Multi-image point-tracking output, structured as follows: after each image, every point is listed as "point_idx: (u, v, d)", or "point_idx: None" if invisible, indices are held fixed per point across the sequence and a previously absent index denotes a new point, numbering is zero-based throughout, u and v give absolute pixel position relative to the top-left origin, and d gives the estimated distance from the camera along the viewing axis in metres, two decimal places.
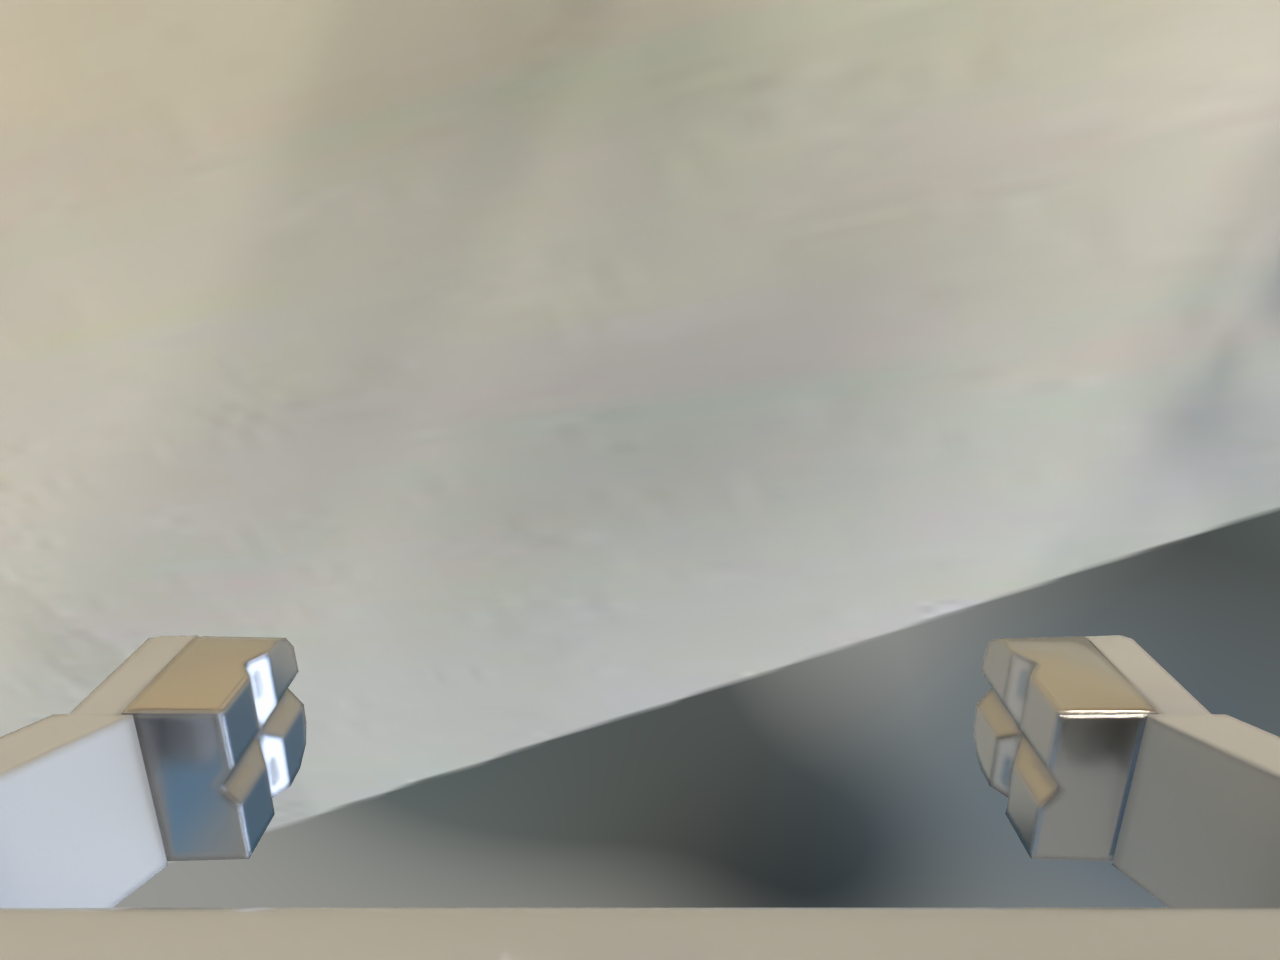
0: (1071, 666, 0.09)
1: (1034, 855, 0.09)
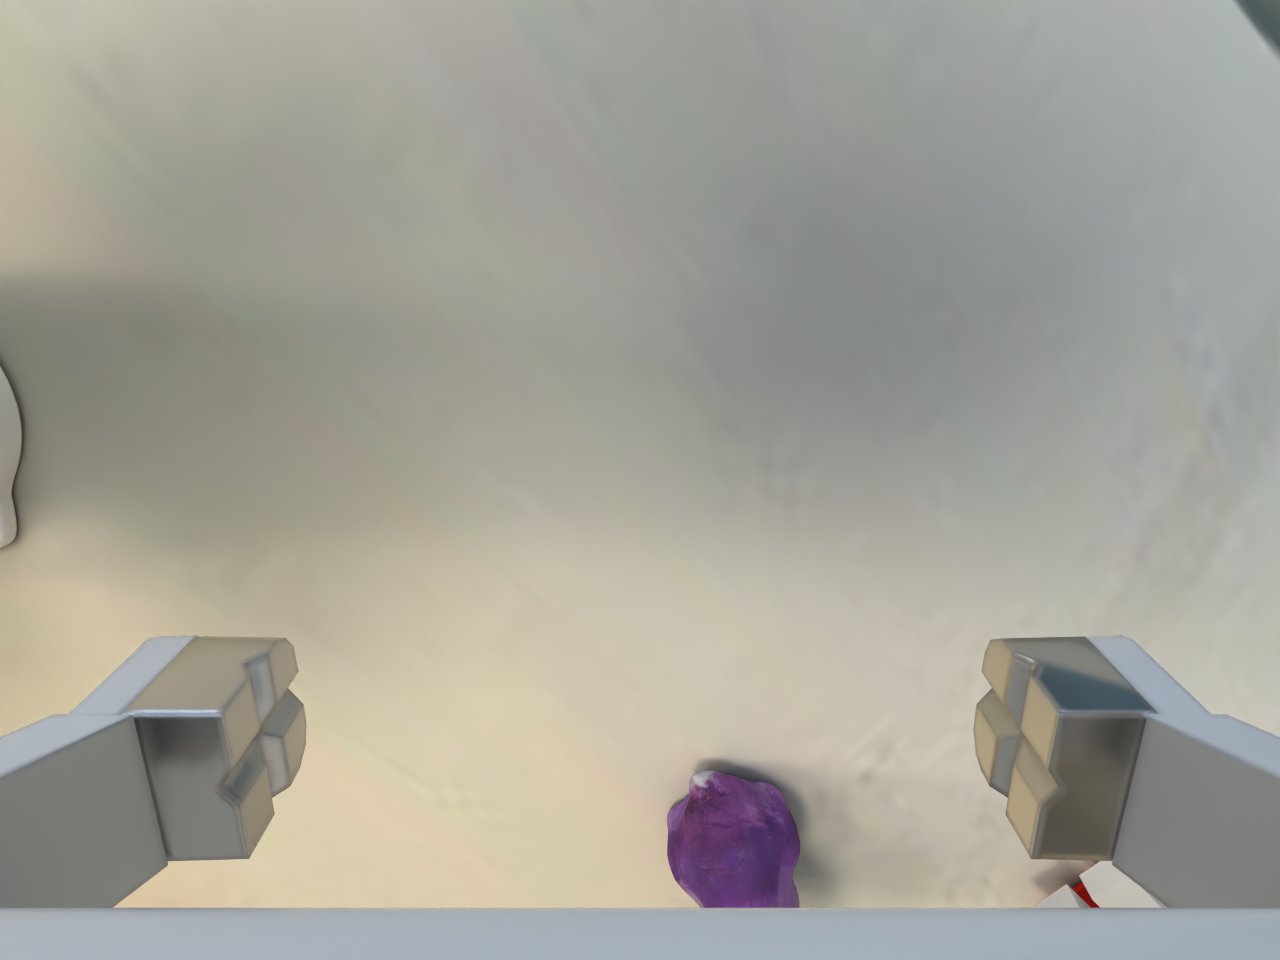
0: (1071, 666, 0.09)
1: (1035, 855, 0.09)
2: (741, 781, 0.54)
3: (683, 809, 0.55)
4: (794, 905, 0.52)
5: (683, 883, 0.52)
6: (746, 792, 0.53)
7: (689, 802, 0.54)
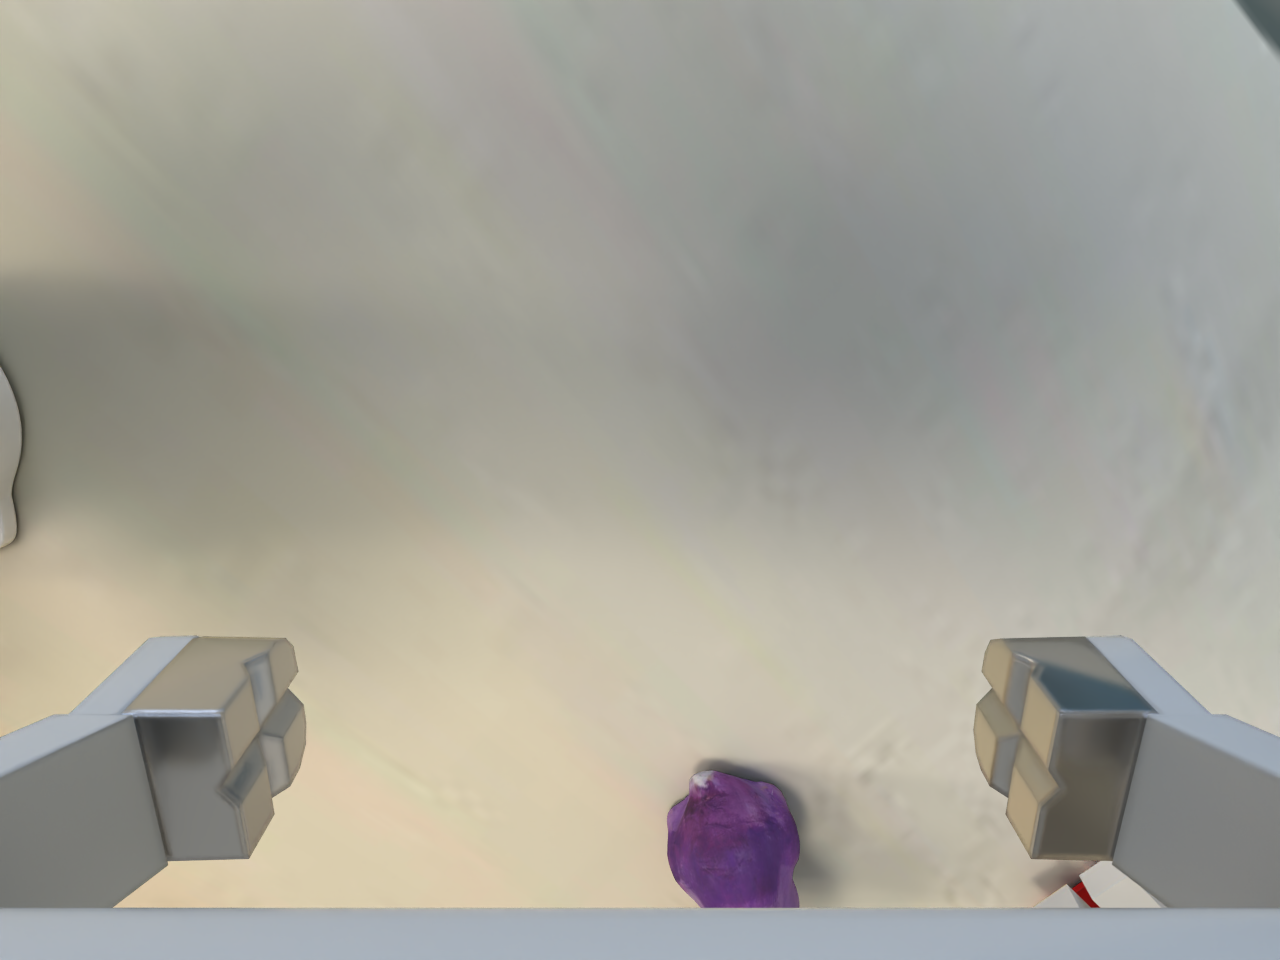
0: (1071, 666, 0.09)
1: (1035, 855, 0.09)
2: (741, 781, 0.54)
3: (683, 809, 0.55)
4: (794, 905, 0.52)
5: (683, 883, 0.52)
6: (746, 792, 0.53)
7: (689, 801, 0.54)
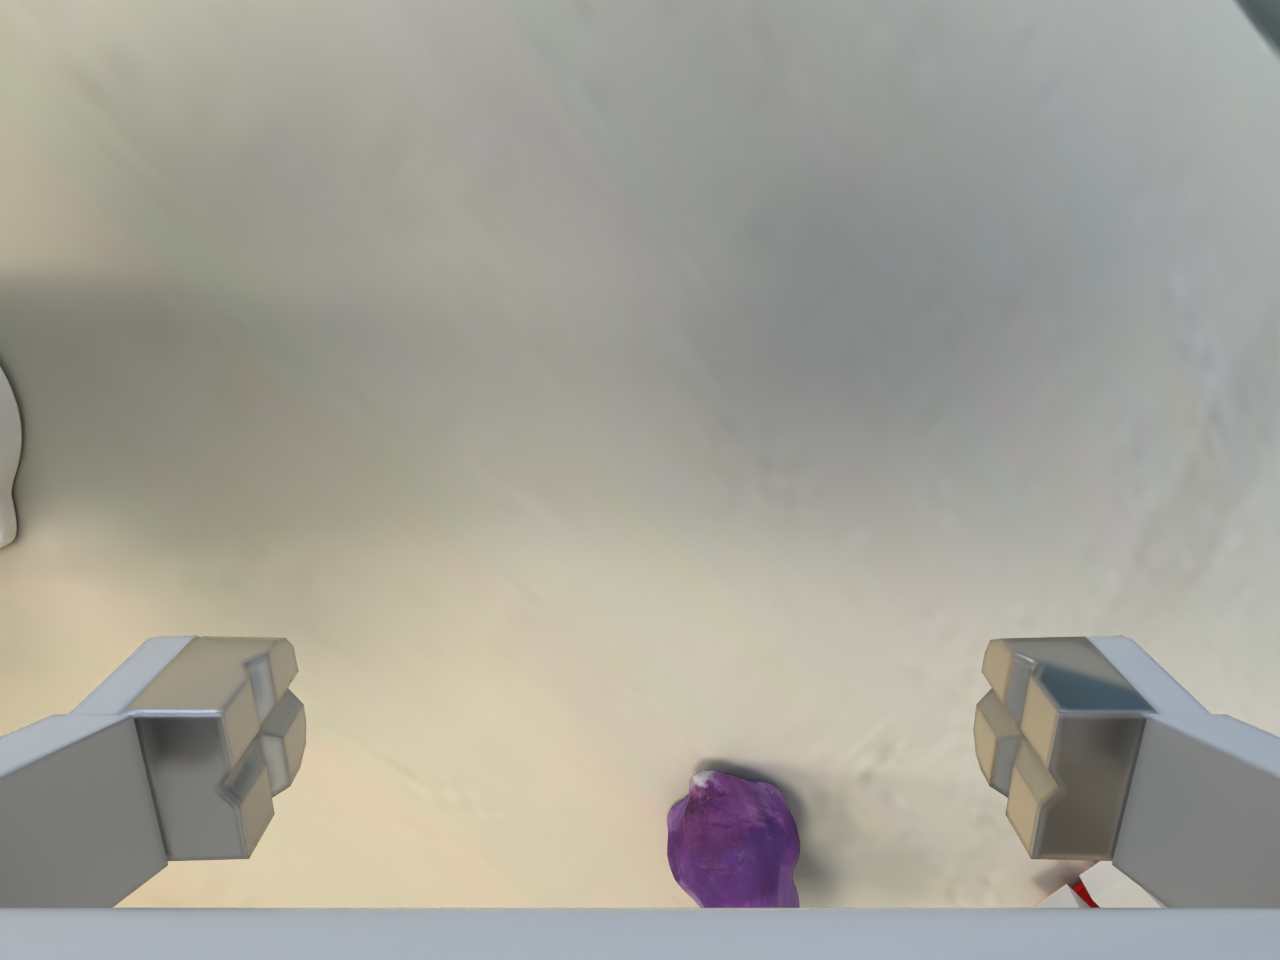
0: (1071, 666, 0.09)
1: (1034, 855, 0.09)
2: (741, 781, 0.54)
3: (683, 809, 0.55)
4: (794, 905, 0.52)
5: (683, 883, 0.52)
6: (746, 792, 0.53)
7: (689, 801, 0.54)
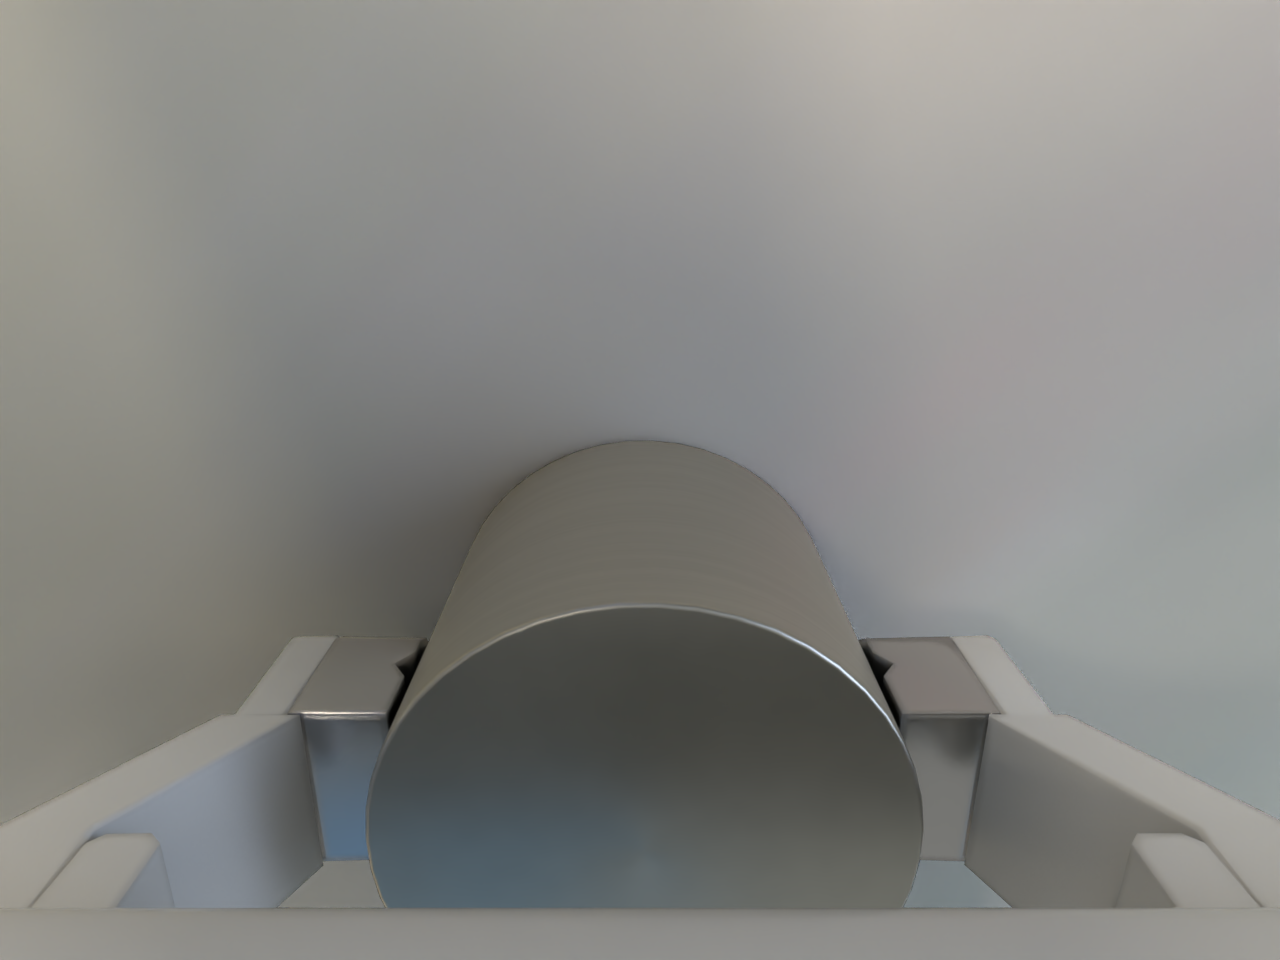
0: (927, 666, 0.09)
1: None
2: None
3: None
4: None
5: None
6: None
7: None
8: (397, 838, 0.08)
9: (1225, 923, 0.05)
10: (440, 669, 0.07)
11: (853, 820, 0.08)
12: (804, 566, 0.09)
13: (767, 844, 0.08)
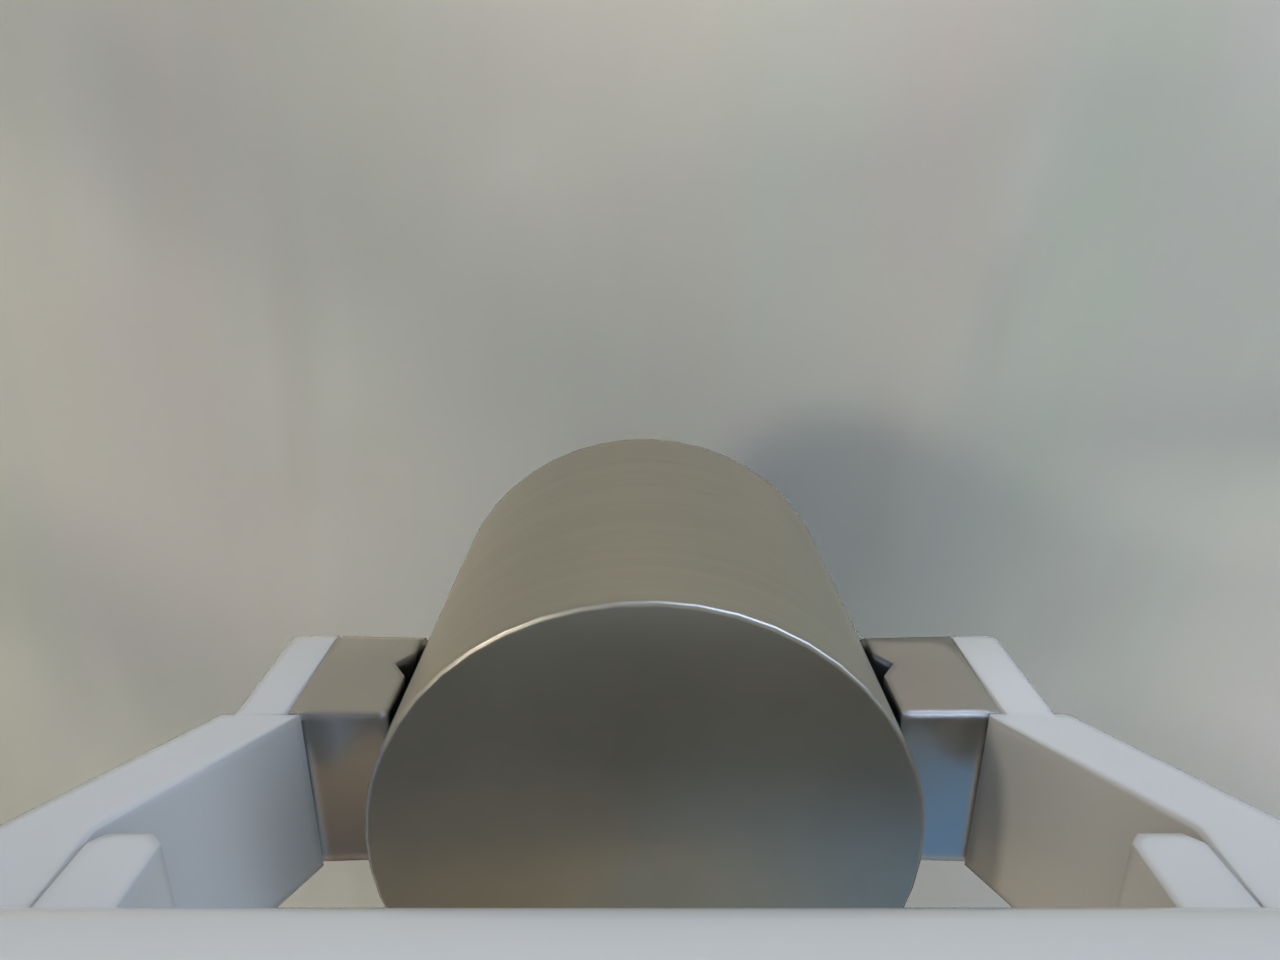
0: (928, 666, 0.09)
1: None
2: None
3: None
4: None
5: None
6: None
7: None
8: (397, 837, 0.08)
9: (1224, 923, 0.05)
10: (440, 668, 0.07)
11: (854, 819, 0.08)
12: (804, 564, 0.09)
13: (769, 842, 0.08)
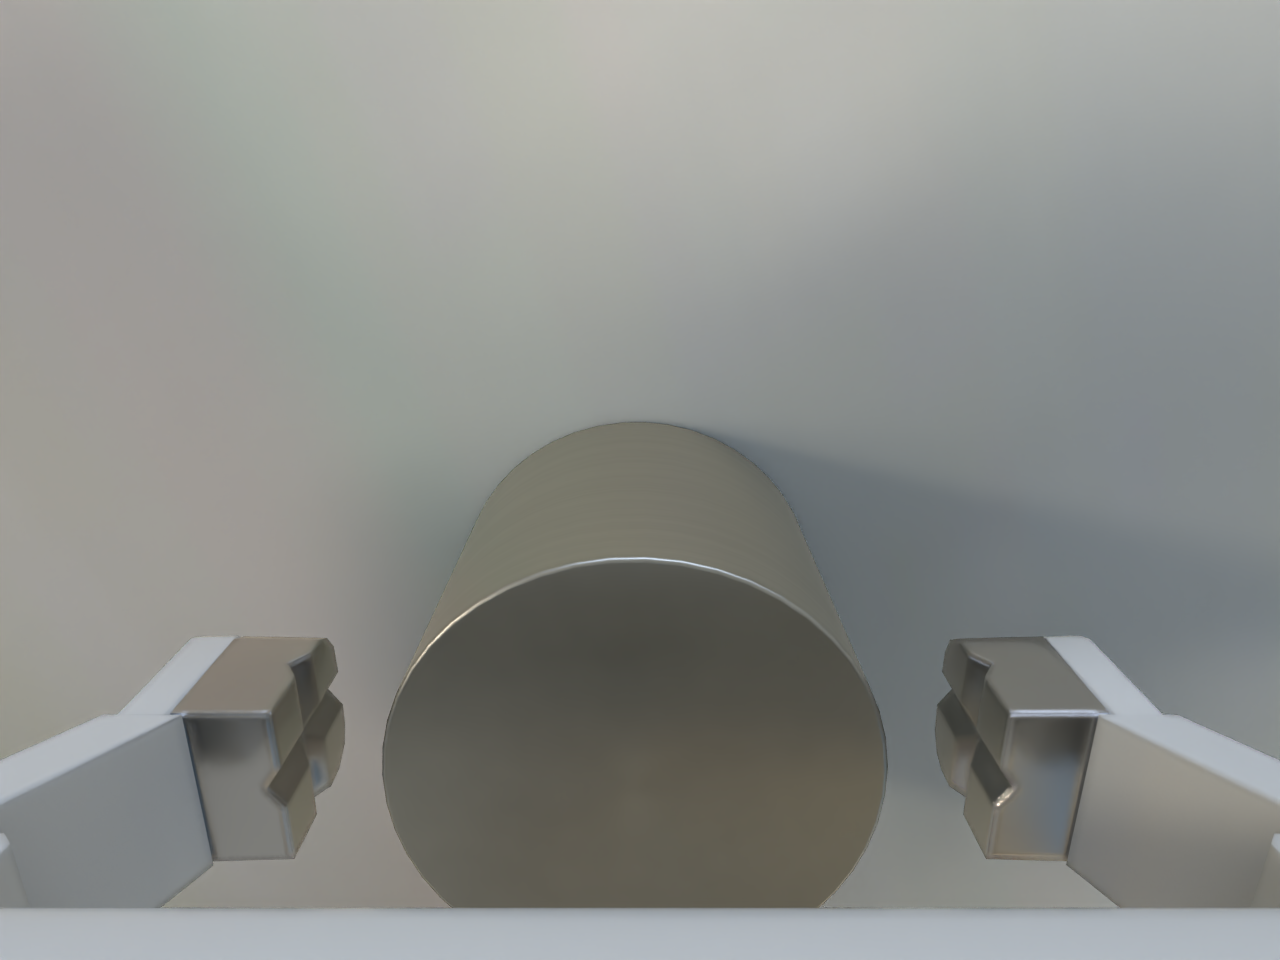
0: (1027, 666, 0.09)
1: (989, 855, 0.09)
2: None
3: None
4: None
5: None
6: None
7: None
8: (411, 775, 0.08)
9: (1224, 923, 0.05)
10: (450, 619, 0.08)
11: (823, 758, 0.08)
12: (783, 534, 0.10)
13: (747, 780, 0.08)
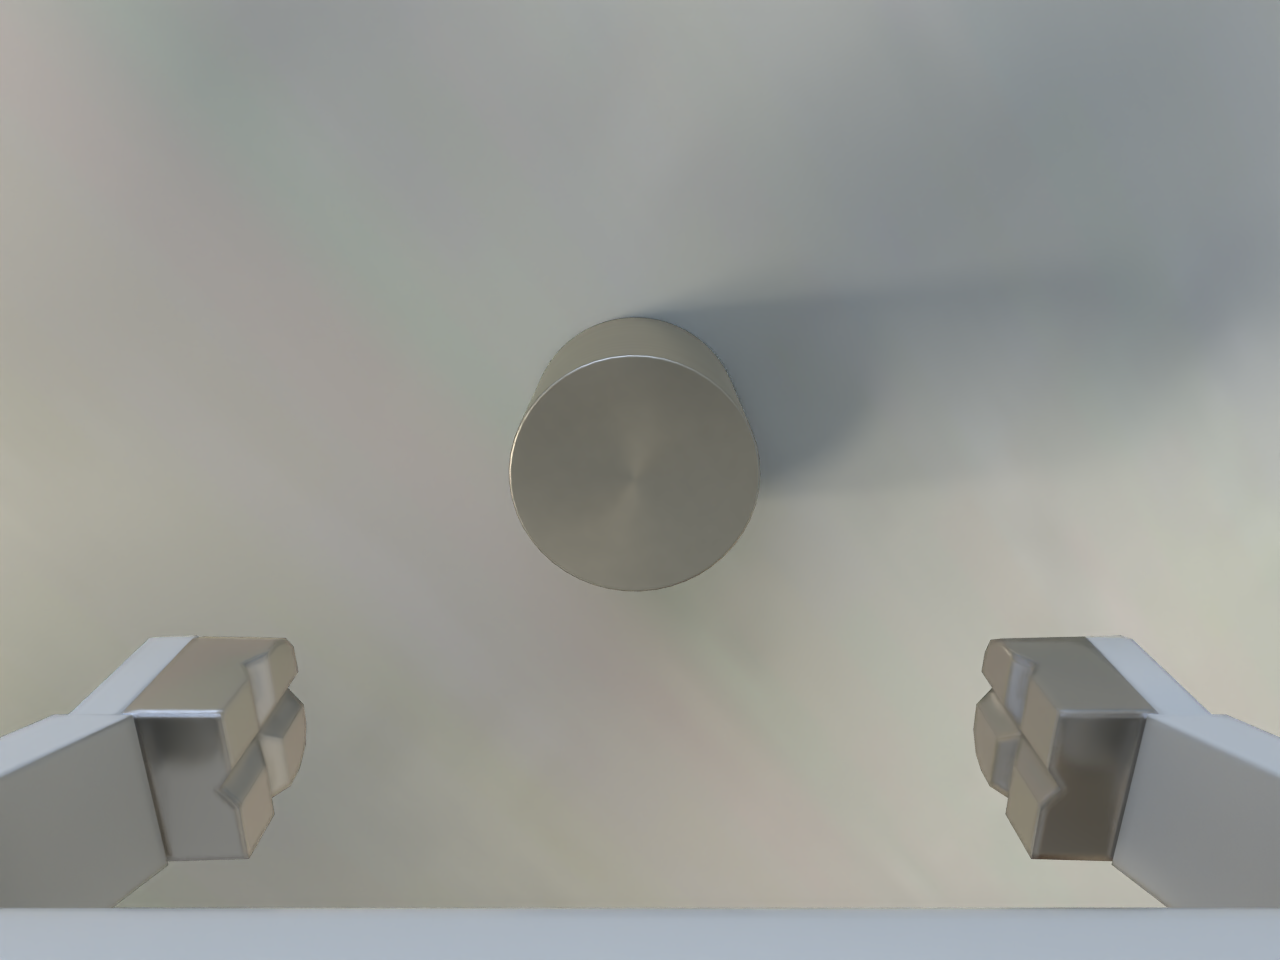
0: (1071, 666, 0.09)
1: (1034, 855, 0.09)
2: None
3: None
4: None
5: None
6: None
7: None
8: (529, 508, 0.17)
9: (1225, 923, 0.05)
10: None
11: (717, 433, 0.17)
12: (679, 344, 0.18)
13: (686, 458, 0.17)
